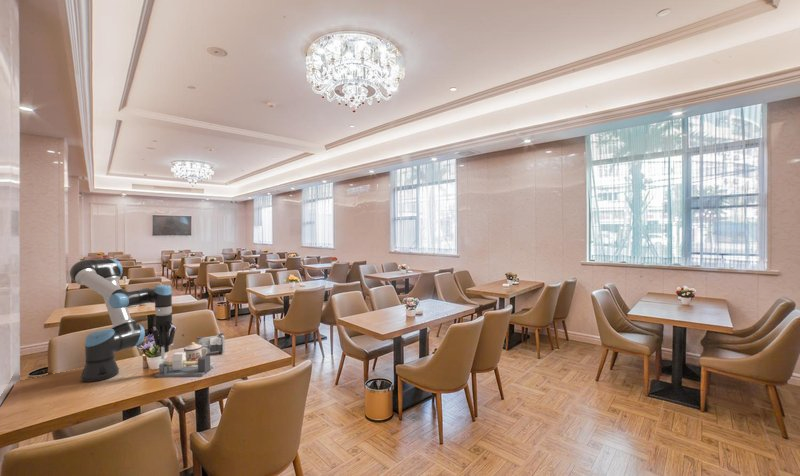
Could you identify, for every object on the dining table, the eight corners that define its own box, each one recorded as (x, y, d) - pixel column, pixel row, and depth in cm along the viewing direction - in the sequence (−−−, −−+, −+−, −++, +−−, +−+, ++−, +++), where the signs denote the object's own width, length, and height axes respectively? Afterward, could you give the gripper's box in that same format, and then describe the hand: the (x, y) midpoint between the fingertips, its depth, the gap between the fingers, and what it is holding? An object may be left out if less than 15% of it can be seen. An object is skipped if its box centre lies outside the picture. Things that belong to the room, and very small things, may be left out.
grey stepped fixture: (155, 377, 183) (155, 361, 183) (168, 369, 194) (168, 354, 194) (202, 376, 184) (202, 361, 184) (212, 368, 195) (212, 354, 195)
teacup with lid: (185, 366, 198) (185, 346, 197) (182, 362, 204) (181, 342, 204) (209, 361, 206) (209, 341, 206) (205, 357, 213) (204, 338, 212)
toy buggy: (193, 361, 206) (193, 341, 206) (191, 357, 213) (191, 338, 213) (227, 354, 217) (227, 335, 217) (223, 350, 225) (223, 332, 225)
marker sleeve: (172, 368, 187) (172, 354, 187) (176, 365, 191) (176, 352, 191) (181, 368, 187) (181, 354, 187) (186, 365, 191) (186, 351, 191)
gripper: (146, 316, 185) (147, 361, 185) (171, 315, 185) (172, 360, 185) (155, 313, 192) (156, 356, 192) (180, 312, 192) (180, 355, 193)
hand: (164, 358), depth 189 cm, fingers closed
